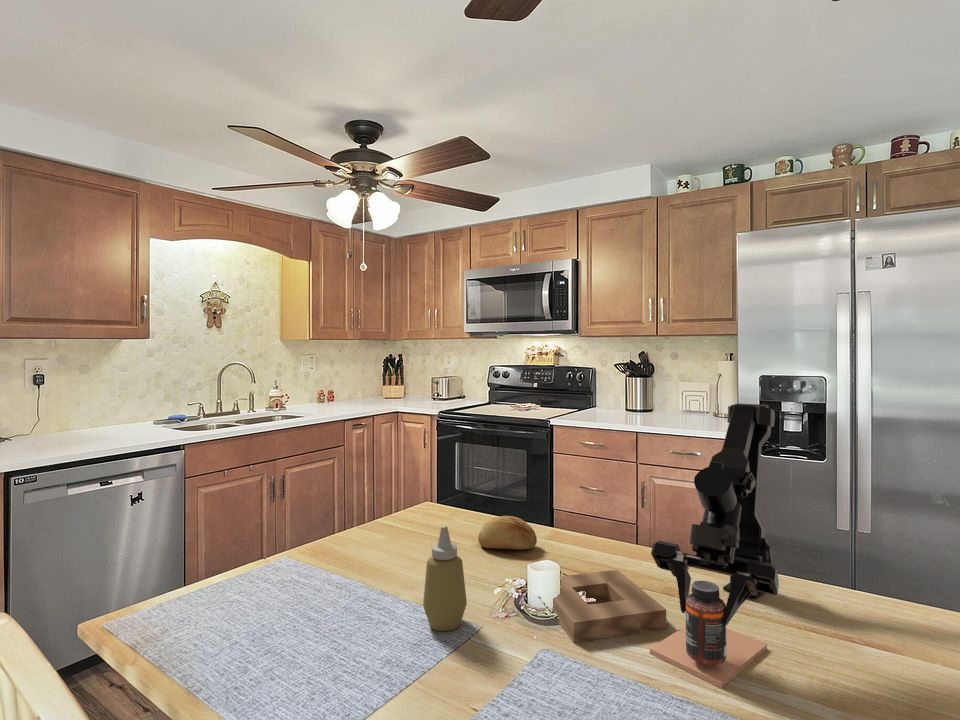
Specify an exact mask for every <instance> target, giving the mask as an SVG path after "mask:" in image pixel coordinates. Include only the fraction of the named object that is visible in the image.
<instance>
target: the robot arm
mask: <svg viewBox="0 0 960 720" xmlns="http://www.w3.org/2000/svg"><path fill="white" fill-rule="evenodd" d="M727 408H728V409H727V423H728V426H727V430H726V434H725V437H724V440H723V443H722V448H721V450H720V451H718V452H717V453H715V454H714V455H713V456H712V457H711V459H710V461H709V464H708V466H707V467H704V468H702V469H700V470H699V471H698V472H697V473H696V475H694V478H693V482H694V487H695V490H696V492H697V493H696V494H697V496H698V499H699V502H700V504H701V506H702V508H703V509H704V511H703V516H702V521H700V523H699V524H696V523H691V529H690V538H689V544H690V545H691V549H692V551H693V552H695V554H694V555H693V554H691V553H690V554H689V553H685V552H683V551H681V548H680V546H679V544H678V543H672V542H667V541H663V540H657V541H655V543H654V544H652V548H651V552H650V555H651V557H652V558H653V561H654V562H655V564H656V566H657V567H658V568H659V569H660V570H664V571H667V572H668V571H669V572H670V573H671V575H672V576H673V577H675V579H676V582H677V583H676V584H677V588H678V589H677V590H678V591H677V592H678V596H679V597H678V598H679V606H680V611H681V613H682V614H686V598H687V597H688V596H689V595H690V594H689V593H690V587H691V582H692V581H691V580H692V577H691V575H690V573H689V569H690V567H691V568H694V569H699V570H704V571H708V572H712V573H716V574H721V575H726V576H729V583H727V584H724V585H723V587H722V589H723V591H726V592H729V594H728V597H727V602H726V604H725V605H726V608H725V612H724V620H723V623H724V624H725V625H726V626H728V624H729V623H730V621H731V620H732V618H733V617H734V615H735V614H736V613H737V612H738V610H739V608H740V607H741V606H742V605H743V604H744V603H745V602H746V601H747V600H748V599H750V600H753V601H756V600H757V599H758V598H760V597H761V596H762V595H764V594H768V595H772V596H778V594H779V585H780V579H779V575H778V571H777V567H776V566H775V565H774V564H773V563H772V561H773V559H772V558H773V557H772V549H771V546H770V545H769V542H768V538H766V537H765V533H766V531H765V528H764V527H763V525H762V523H761V521H760V519H759V517H758V510H759V509H758V505H759V490H760V489H759V488H760V473H761V459H762V447H763V446H764V444H765V443H767V441H768V439H770V437H771V433H772V428H774V427H775V422H776V421H775V419H776V414H775V410H774V409H773V408H770V407H769V404H757V403H754V404H753V403H734V404H731V405H728V406H727Z"/></svg>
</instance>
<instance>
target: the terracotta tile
mask: <svg viewBox="0 0 960 720" xmlns="http://www.w3.org/2000/svg"><path fill="white" fill-rule="evenodd" d="M767 649H768V644H767V643H765V642H762V641H760V640H757V639H756V638H752V637H749V636H747V635H745V634H743V633H740V632H737V631H735V630H732V629H730V628H728V627H726V660H725V661H724V662H723V663H722V664H719V665H705V664H702V663H699V662H697V661H695V660H693V659H692V658H691V657H690V656H689V655H688V654H687V651H686V625H684V626H682V627H681V628H680V629H678V630H676V631H675V632H673V633H672V634H670V635H669V636H667V637H666V638H664V639H662V640H661V641H660V642H658V643H656V644H655V645H653V646H651V647H650V648H649V654H650V655H652V656H655V657H656V658H658V659H660V660H662V661H664V662H666V663H667V664H671V665H673V666H674V667H677V668H678V669H681V670H683V671H686V672H687V673H689V674H692V675H693V676H695V677H697V678H699V679H701V680H703V681H705V682H708V683H709V684H711V685H713V686H716V687H717V688H720V689H722V688H723V687H724V686H726V685H727V684H728V683H729V682H730V681H731V680H733V678H735V677H736V676H737V675H739V674H740V672H742V671H743V670H744V669H745V668H747V667H748V666H749V665H750V664H751V663H752V662H753V661H755V660H756V659H757V658H758V657H759V656H761V655H762V654H763V653H764V652H765V651H767Z"/></svg>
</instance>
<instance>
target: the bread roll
mask: <svg viewBox="0 0 960 720" xmlns="http://www.w3.org/2000/svg"><path fill="white" fill-rule="evenodd" d="M477 540H478V544H479V545H480V547H482V546H483V547H482V548H484V547H485V548H484V549H489V548H490V549H494V548H495V549H498V550H499V549H500V550H501V549H502V550H530V549H533V548H534V547H535V546H536V545H537V540H538V539H537V535H536V532H535V530H534V529H533V528H532V527H531V525H529V523H528V522H526V521H525V520H524V519H522V518H519V517H516V516H512V515H500V516H496V517H494V518H492V519H489V520H488V521H486V522H485V523H484V525H483V526H482V527H481V529H480V530H479V533H478V535H477Z"/></svg>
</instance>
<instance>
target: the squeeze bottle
mask: <svg viewBox="0 0 960 720" xmlns="http://www.w3.org/2000/svg"><path fill="white" fill-rule="evenodd" d="M464 574H465V573H464V565H463V559H462V558H461V557H460V556H459V555H458V546H457V544H455V543H453V542H452V541H451V537H450V532H449V528H448V526H447V525H444V526H443V525H442V526H441V527H440V531H439V537H438V541H437V543H435V544H433V545H432V547H431V556H430V557H429V558H428V559H427V560H426V567H425V577H424V578H425V579H424V591H423V600H422V606H423V610H424V612H425V615H426V618H427V621H428V624H429V627H430V628H431V629H433V630H436V631H441V632H448V631H453V630H455V629H457V628H459V627H460V626H461V623H462V620H463V617H464V615H465V610H466V607H467V604H468V603H467V602H468V601H467V600H468V599H467V592H466V584H465V575H464Z"/></svg>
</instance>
